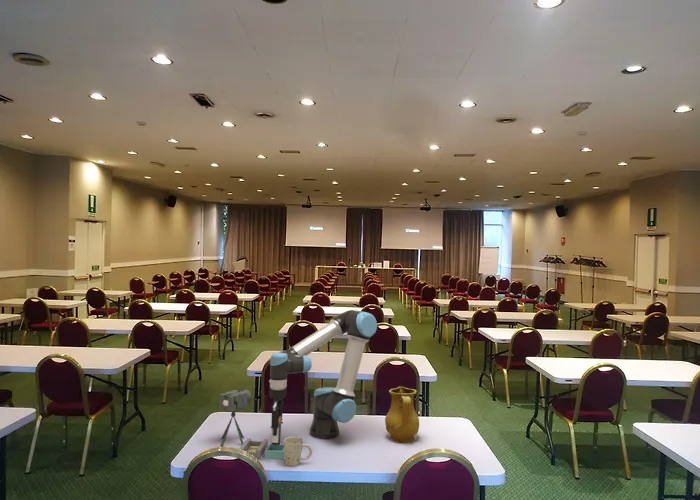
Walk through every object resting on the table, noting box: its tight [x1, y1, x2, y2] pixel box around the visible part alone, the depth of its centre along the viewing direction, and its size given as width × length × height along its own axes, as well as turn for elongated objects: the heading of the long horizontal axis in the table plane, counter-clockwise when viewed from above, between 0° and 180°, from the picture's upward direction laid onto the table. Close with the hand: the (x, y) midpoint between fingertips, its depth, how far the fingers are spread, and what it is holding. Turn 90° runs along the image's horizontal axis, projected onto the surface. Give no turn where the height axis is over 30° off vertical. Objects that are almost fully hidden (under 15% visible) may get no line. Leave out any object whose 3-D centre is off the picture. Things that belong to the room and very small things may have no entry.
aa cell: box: [271, 415, 282, 445], centre depth 218 cm, size 4×4×13 cm
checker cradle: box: [238, 437, 269, 460], centre depth 220 cm, size 10×14×4 cm
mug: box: [283, 436, 313, 467], centre depth 210 cm, size 8×13×10 cm, turn 95°
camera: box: [218, 387, 252, 447], centre depth 233 cm, size 16×16×25 cm
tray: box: [264, 443, 285, 461], centre depth 217 cm, size 8×8×4 cm
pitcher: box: [384, 385, 420, 444], centre depth 242 cm, size 17×19×25 cm
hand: (276, 440), depth 217 cm, fingers closed on aa cell, 4 cm apart
